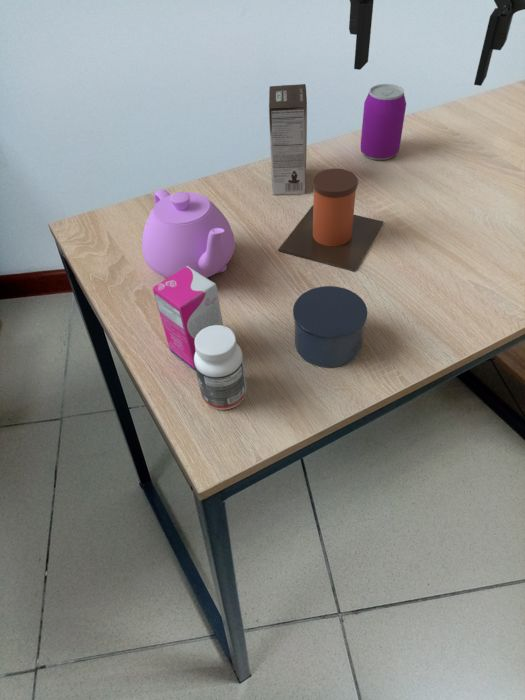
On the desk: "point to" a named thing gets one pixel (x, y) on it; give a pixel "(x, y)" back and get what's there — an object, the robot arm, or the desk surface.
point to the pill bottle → (219, 367)
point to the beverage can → (383, 121)
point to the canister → (333, 206)
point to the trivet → (336, 256)
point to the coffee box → (288, 138)
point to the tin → (329, 326)
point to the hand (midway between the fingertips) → (418, 73)
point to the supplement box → (186, 310)
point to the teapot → (186, 235)
